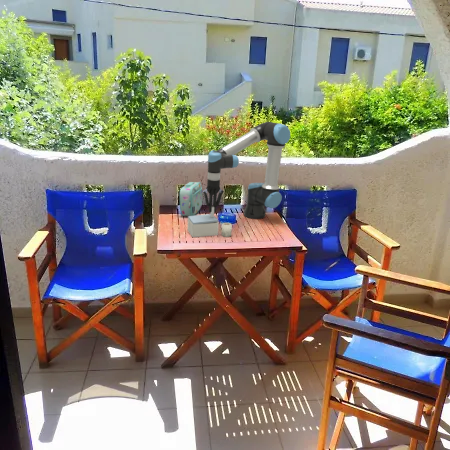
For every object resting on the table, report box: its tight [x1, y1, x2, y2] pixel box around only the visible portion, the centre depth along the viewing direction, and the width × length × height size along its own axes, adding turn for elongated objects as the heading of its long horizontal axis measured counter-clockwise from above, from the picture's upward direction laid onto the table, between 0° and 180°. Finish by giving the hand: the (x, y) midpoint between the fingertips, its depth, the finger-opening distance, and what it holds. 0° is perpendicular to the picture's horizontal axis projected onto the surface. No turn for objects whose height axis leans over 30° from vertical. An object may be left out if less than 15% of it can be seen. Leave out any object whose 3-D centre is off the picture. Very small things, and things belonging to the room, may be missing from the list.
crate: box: [186, 217, 220, 238], centre depth 256 cm, size 16×12×8 cm
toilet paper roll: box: [220, 222, 233, 238], centre depth 254 cm, size 6×6×7 cm
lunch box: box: [179, 181, 203, 217], centre depth 288 cm, size 27×10×21 cm, turn 168°
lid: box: [187, 213, 219, 224], centre depth 254 cm, size 16×12×1 cm
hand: (212, 216), depth 256 cm, fingers closed
